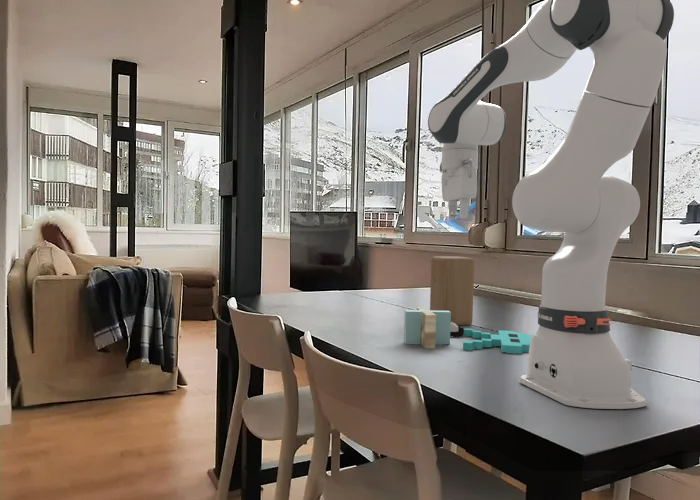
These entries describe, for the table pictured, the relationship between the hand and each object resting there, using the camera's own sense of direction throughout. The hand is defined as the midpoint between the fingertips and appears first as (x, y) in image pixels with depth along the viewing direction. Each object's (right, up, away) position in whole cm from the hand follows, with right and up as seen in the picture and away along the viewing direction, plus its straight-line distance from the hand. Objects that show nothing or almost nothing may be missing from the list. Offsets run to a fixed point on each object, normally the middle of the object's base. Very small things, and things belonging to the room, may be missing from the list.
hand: (458, 218), depth 143 cm
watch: (0, -31, +10) cm, 33 cm away
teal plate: (-8, -31, -1) cm, 32 cm away
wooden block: (+4, -30, +31) cm, 43 cm away
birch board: (-8, -31, -1) cm, 32 cm away
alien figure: (+12, -32, 0) cm, 34 cm away
